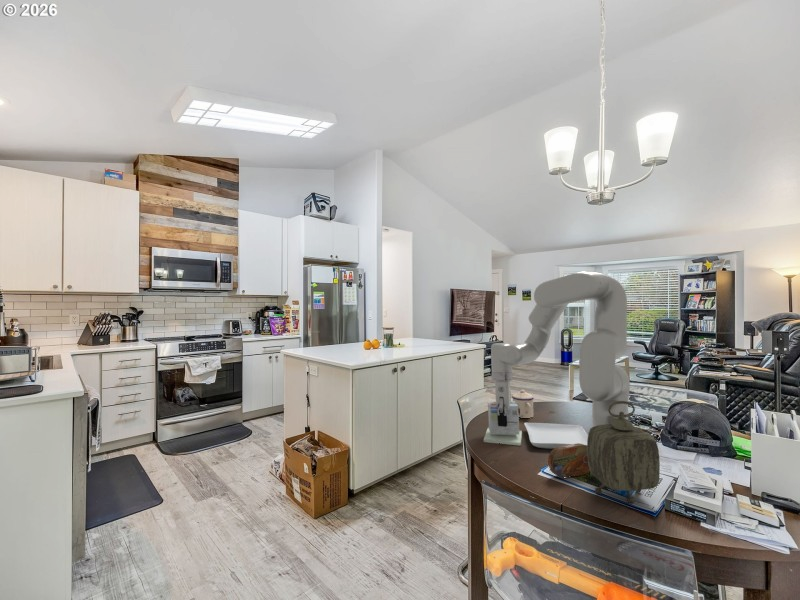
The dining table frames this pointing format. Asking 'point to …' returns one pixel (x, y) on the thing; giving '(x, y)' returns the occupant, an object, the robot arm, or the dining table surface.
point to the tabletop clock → (623, 455)
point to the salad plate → (555, 435)
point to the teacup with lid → (524, 404)
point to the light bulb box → (511, 419)
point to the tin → (569, 460)
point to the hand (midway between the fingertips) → (503, 422)
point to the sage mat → (503, 438)
